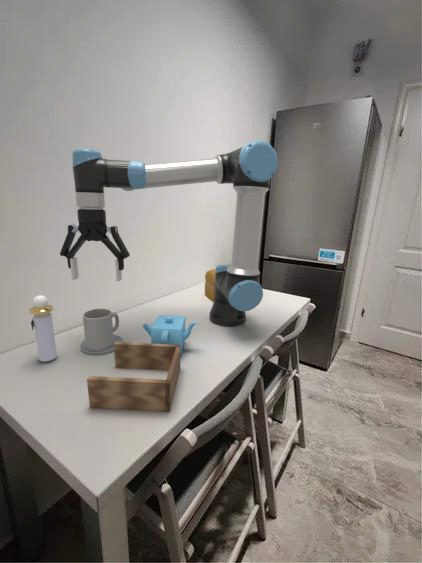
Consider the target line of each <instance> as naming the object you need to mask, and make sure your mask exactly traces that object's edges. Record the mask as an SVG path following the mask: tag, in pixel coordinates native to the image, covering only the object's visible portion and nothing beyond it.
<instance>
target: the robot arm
mask: <svg viewBox="0 0 422 563" xmlns="http://www.w3.org/2000/svg"><path fill="white" fill-rule="evenodd" d="M71 167H72V173H73V180H74V192H75V200H76V202H75V203H76V207H78V208H79V209H78V208H77V211H76V212H77V213H76V214H77V221H78V225H76V224H68V226H67V233H66V236H65V240H64V242H63V244H62V247H61V249H60V253H59V255H60V256H61V257H65V258H66V260H67V266H68V269H70V273H71V281H75V280H78V279H79V278H80V274H79V264H78V257H77V256H76V254H78V251H79V250H80V249H81V248H82V246H83V245H84V244H85V243H86V241H87V242H93V241H94V242H101V243H102V244H104V246H106V248H107V249H108V250H109V251H110V252H111V254H112V255H114V257H115V258H116V259H115V260H114V265H115V266H114V268H115V281H116V282H120V281H122V280H123V277H122V271H123V270H124V269H125V259H127V258H128V257H130V256H131V255H130V252H129V251H128V248H127V247H126V245H125V242H124V241H123V239H122V237H121V236H120V233H119V230H118V226H117V225H113V226H107V214H106V213H107V212H106V210H105V209H104V208H105V207H106V202H105V200H106V199H105V190H104V189H105V188H112V189H121V190H123V191H125V192H126V191H127V192H129V191H131V192H132V191H135V190H143V189H153V188H161V187H162V188H163V187H172V186H184V185H192V184H203V183H213V182H216V183H217V184H219V185H223V184H224V185H225V184H232V185H233V186H232V188H233V190H234V191H235V192H236V204H235V207H236V208H235V214H234V215H235V218H234V227H233V228H234V229H233V240H232V242H233V243H232V253H231V254H232V255H231V264H219V265H217V266H216V267H215V269H216V271H215V295H214V302H212V306H211V309H210V312H209V321H210V322H211V323H212V324H215V325H218V326H222V327H237V326H242V325H243V324H245V323H246V320H247V314H246V312H248V311H251V310H253V309H255V308H256V307H258V306H259V305H260V304H261V302H262V300H263V297H264V291H263V288H262V285H261V284H260V278H261V272H260V269H258V268H257V265H258V264H257V263H258V252H259V244H260V232H261V224H262V215H263V206H264V198H265V197H264V196H265V194H266V193H267V192H268V191H269V190H270V185H271V179H272V178H273V177H274V175H275V174H276V172H277V170H278V167H279V158H278V154H277V152H276V150H275V149H274V147H273V146H272V145H271V144H270V143H268V142H267V141H264V140H254V141H249V142H247V143H245V144H244V145H243V146H241V147H239V148H237V149H235V150H233V151H230V152H227V153H223V154H222V153H221V154H215V157H213V158H205V159H193V160H180V161H169V162H168V161H167V162H156V163H155V162H154V163H145V162H143V161H139V160H138V161H136V160H133V159H132V160H125V159H123V160H120V159H119V160H118V159H106V158H103V156H102V153H101V151H99V150H95V149H89V148H76V149H74V150H73V151H72V166H71ZM78 232H79V233H80V235H79V237H78V238H77V241H75V243H74V244H73V242H74V239H75V237H76V234H77V233H78ZM107 233H109V234H110V235H111V237H112V239H113V241H114V242H115V244H116V245H115V244H114V243H113V242H112V240H111V239H110V238H109V236H108V235H107ZM72 244H73V246H72Z"/></svg>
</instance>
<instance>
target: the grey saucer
mask: <svg viewBox="0 0 422 563" xmlns="http://www.w3.org/2000/svg"><path fill="white" fill-rule="evenodd" d="M113 338H114V343H115V342H124V340H123V337H121V336H120V335H118V334H114V333H113ZM79 348H80V351H81V352H82V353H83V354H85V355H90V356H102V355H107V354H112V353H113V352H114V344H113V346H112V347H110V348H108V349H106V350H103V351H90V350H88V349H87V348H86V345H85V339H84V340H83V341H82V342H81V343H80V346H79Z"/></svg>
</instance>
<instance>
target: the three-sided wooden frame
mask: <svg viewBox="0 0 422 563" xmlns="http://www.w3.org/2000/svg"><path fill="white" fill-rule="evenodd" d="M113 354H114V366H115V368H117V369H118V368H119V369H133V370H134V369H135V370H137V369H138V370H158V371H160V370H161V371H168V373H167V375H166V379H157V378H141V377H140V378H138V377H137V378H136V377H120V376H119V377H118V376H117V377H116V376H115V377H114V376H101V375H100V376H98V375H96V376H94V375H89V376H88V377H87V378H86V383H87V393H88V404H89V408H92V409H93V408H94V409H114V410H130V411H131V410H133V411H134V410H135V411H147V412H148V411H149V412H151V411H152V412H168V413H169V412H171V408H172V404H173V399H174V397H175V392H176V387H177V383H178V380H179V375H180V371H181V355H180V345H171V344H151V343H150V342H149V343H146V342H145V343H144V342H128V341H127V342H125V341H123V342H115V343H114V353H113Z"/></svg>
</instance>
